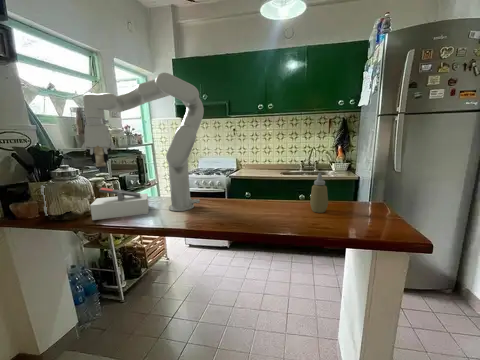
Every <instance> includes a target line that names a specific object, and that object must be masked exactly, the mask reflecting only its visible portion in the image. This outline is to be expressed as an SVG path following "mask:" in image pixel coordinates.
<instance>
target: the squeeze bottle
mask: <svg viewBox="0 0 480 360" xmlns="http://www.w3.org/2000/svg"><path fill="white" fill-rule="evenodd" d="M322 176H323V175H322V172H318V174H317V177H316V180H314V182H313V185H312V186H311V190H310V191H311V193H310V202H309V205H310V208H311V210H312V212H313V213H319V214H320V213H322V214H323V213H326V211H327V209H328V205H329V197H328V186H327V185H326V181H325V180H324V179H323V177H322Z"/></svg>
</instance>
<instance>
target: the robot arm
mask: <svg viewBox="0 0 480 360" xmlns="http://www.w3.org/2000/svg"><path fill="white" fill-rule="evenodd" d="M169 96H171V97H173V98H175V99H177V100H179V101H181V102H182V104H183V105H184V106H185V108H186V109H185V114H184V115H183V118H182V121H181V124H180V125H179V127H178V128H177V129H176V130H175V133H174V136H173V137H172V140H171V143H170V145H169V147H168V149H167V152H166V157H165V159H166V161H167V163H168V176H169V188H170V189H169V190H170V191H169V192H170V202H171V205H169V206H168V210H169V211H171V212H184V211H185V212H186V211H189V210H192V209H193V208H194V207H195V204H200V203H201V200H200V199H196V198H194V199H192V198H191V191H190V190H191V189H190V178H189V176H190V174H189V173H190V172H189V157H190V154H191V152H192V149H193V147H194V144H195V143H196V140H197V134H198V131H199V128H200V126H201V123H202V121H203V117H204V110H205V108H204V104H203V102H202V100H201V98H200V92H199V90H198V88H197V87H196V86H194V84H191V83H189V82H187V81H185V80H183V79H182V78H179V77H178V76H175V75H173V74H171V73H168V72H161V73H160V74H157V75H156V78H155V79H152V80H148V81H144V82H141V83H139V84H136V86H135V87H134V88H133V89H132V90H130V91H128V92H126V93H122V94H119V95H115V93H111V92H110V93H109V92H105V93H104V92H103V93H84V94H83V97H82V101H83V109H84V115H85V116H84V117H85V122H86V123H85V124H86V125H85V126H84V142H83V144H82V145H81V147H80V148H81V149H82V150H84V151H85V152H87V153H88V154H90V156H91V162H92V163H93V164H96V161H95V153H94V148H95V147H96V146H99V147H103V149H104V160H105V163H106V164H107V163H108V162H109V161H110V160H109V153H110V152H111V151H112V150H114V149H115V148H116V145H115V144H114V142H113V141H111V135H110V134H111V133H110V130H109V127H108V126H109V125H107V124H109V123H110V121H109V119H105V111H108V112H112V113H122V112H125V111H128V110H132V109H134V108H137V107H140V106H142V105H144V104H146V103H149V102H153V101H157V100H159V99H163V98H166V97H169Z"/></svg>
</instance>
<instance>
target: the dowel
mask: <svg viewBox="0 0 480 360" xmlns="http://www.w3.org/2000/svg"><path fill="white" fill-rule="evenodd" d="M94 153H95V161H96V163H95V168H96V170H99V169H100V170H101V169H106V168H107V165H106V164H107V163H105V160H104V153H105V152H104V149H103V147H99V146H96V147H95V148H94Z"/></svg>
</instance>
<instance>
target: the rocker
mask: <svg viewBox="0 0 480 360" xmlns="http://www.w3.org/2000/svg"><path fill="white" fill-rule="evenodd" d="M121 190H122V189H114V188H108V187H100V188H99V189H98V193H106V194H112V195H117V193H122V195H124V196H134V197H140V194H141V193H140V192H133V191H127V190H124V191H121Z"/></svg>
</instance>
